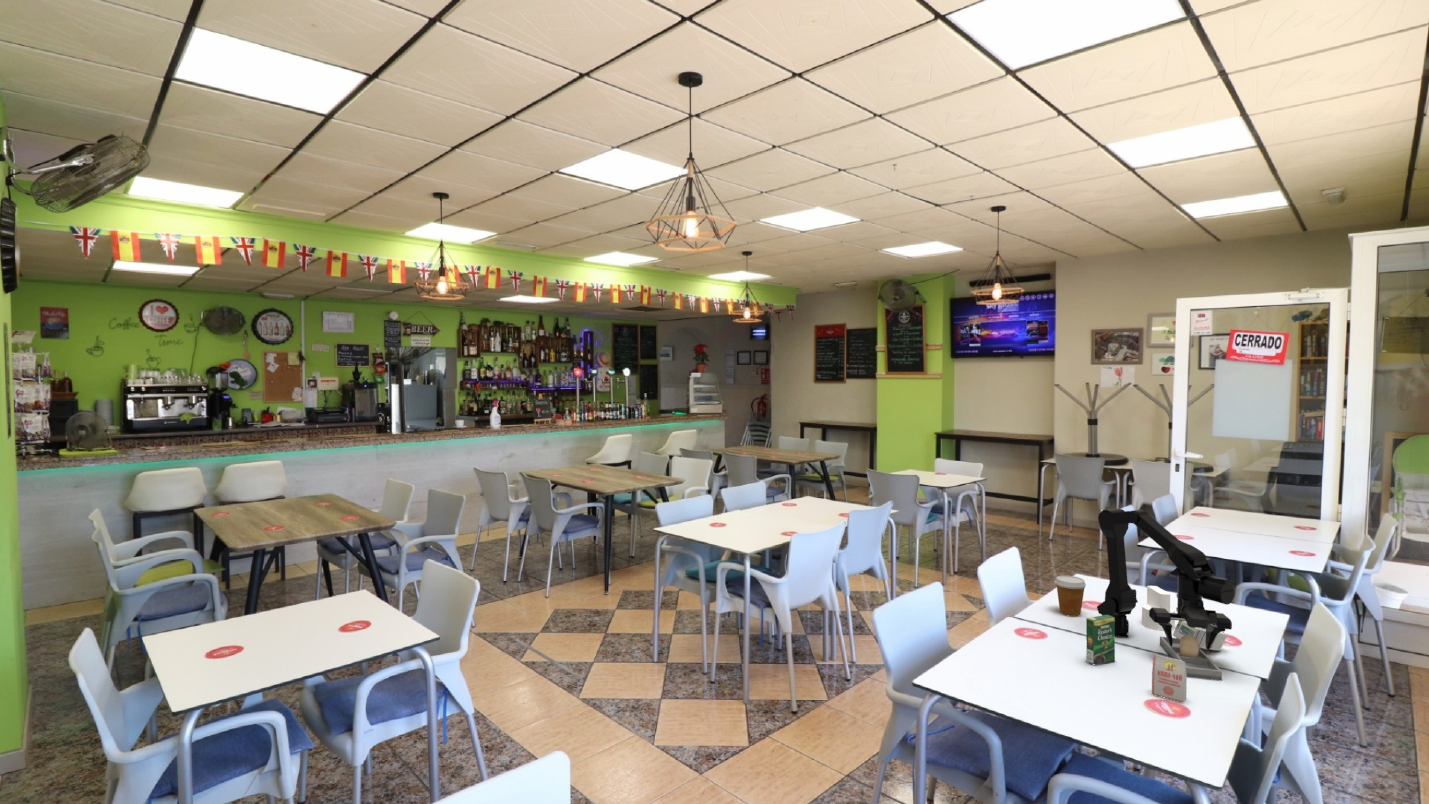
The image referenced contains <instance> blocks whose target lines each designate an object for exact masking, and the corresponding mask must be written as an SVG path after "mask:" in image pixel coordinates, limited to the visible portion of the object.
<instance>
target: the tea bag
mask: <svg viewBox="0 0 1429 804" xmlns="http://www.w3.org/2000/svg"><path fill="white" fill-rule="evenodd" d="M1151 670H1152V671H1151V695H1152V694H1153V695H1152V696H1155V695H1156V697H1159V696H1162V697H1165V698H1164V699H1166V698H1168V699H1167V700H1170V699H1172V700H1171V701H1173V700H1175V701H1174V702H1177V701H1178V703H1181V702H1184V703H1185V701H1186V700H1187V684H1188V683H1187V682H1188V681H1187V679H1188V677H1187V674H1186V664H1185V661H1181V660H1177V659H1172V658H1170V657H1169V656H1168V657H1167V656H1163V655H1159V654H1155V653H1154V654H1153V661H1152V669H1151ZM1162 697H1161V698H1162ZM1185 699H1186V700H1185Z"/></svg>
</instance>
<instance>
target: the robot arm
mask: <svg viewBox="0 0 1429 804" xmlns="http://www.w3.org/2000/svg"><path fill="white" fill-rule="evenodd" d="M1097 519H1098V524H1099V529H1100V531H1101V532H1102V534H1103V535H1104V536H1105V539H1106V542H1105V543H1106V552H1107V566H1108V579H1109V584H1108V586H1107V587H1106V589H1105V591H1104V601H1103V602H1101V603H1099V604H1098V605H1097V606H1096V609H1097V610H1096V611H1097V612H1098V614H1099V615H1101V616H1102V615H1110V616H1112V617H1114V618H1115V637H1121V638H1128V637H1129V628H1130V627H1129V625H1130V622H1129V619H1127V618H1128V617H1127V615H1131V613H1132V611H1133V610H1134V609H1135V608H1136V606H1137V603H1139V601H1138V598H1137V590H1136V589H1134V588H1133V589H1132V587H1131V586H1130V584H1129V583H1128V582H1129V581H1128V571H1127V560H1126V559H1127V558H1126V557H1127V556H1126V545H1125V536H1126V534H1127V532H1128V530H1129V524H1133V525H1135V526H1136V527H1137V528H1138V529H1140V531H1142V532H1143V533H1144V534H1145V535H1146V536H1148V537H1149V538H1150V539H1151V540H1152V541H1154V543H1156V544H1157V545H1158V546H1160V547H1161V549H1163V550H1164V551H1165V553H1166V554H1167V557H1168V559H1169V560H1170V561H1171V562H1172V564H1173V565H1174V566H1175V567H1176V568H1175V569H1173V570H1171V571H1170V572H1169V574H1170V575H1172V576H1176V577H1177V593H1176V599H1177V605H1176V606H1177V607H1176V610H1175V613H1169V612H1168V611H1167V610H1166V609H1164V608H1151V609H1150V610H1149V616H1150V618H1151V619H1152V620H1153V621H1154V622H1156V623H1158V624H1159V625H1161V626H1162V628H1163V630H1164V631H1163V632H1164V634H1165V637H1167V640H1168V642H1169V645H1170V646H1172V643H1173V641H1172V638H1173V633H1172V632H1173V631H1171V629H1172V625H1171V624H1170V622H1171V620H1175V621H1179V620H1180V621H1186V622H1187V625H1188V626H1189V627H1192V628H1195V627H1197V628H1203V629H1206V642H1205V643H1206V649H1205V650H1206V651H1210V650H1211V649H1210V647H1211V645H1212V643H1213V641H1214V639H1215V637H1216V636H1217V634H1218V633H1220V632H1222V631H1223V632H1224V633H1225V632H1226V630H1232V629H1233V622H1232V620H1231V618H1229V617H1228V616H1226V615H1225V614H1224V613H1220V612H1216V610H1210V609H1205V607H1204V600H1203V599H1205V600H1209V601H1213V602H1216V603H1219V604H1223V605H1230V604H1232V602H1233V601H1234V599H1235V595H1236V594H1235V592H1236V591H1235V589H1234V587H1233V585H1232V584H1231V583H1230V579H1229V578H1226V577H1218V576H1217V575H1216V572H1215V571H1214V569H1213V568H1212V566H1211V565H1210V563H1209V562H1208V560H1207V556H1206V554H1205V553H1204V552H1203V551H1202V550H1200V549H1198V548H1196V547H1195V546H1193V545H1192V544H1189V543H1187V542H1184V541H1182V540H1180V539H1179V538H1177V537H1176V536H1175V535H1173V533H1171V532H1170V531H1169V530H1167V529H1166V528H1165V527H1164V526H1163V525H1162V524H1160V523H1159V522H1158V521H1157V520H1155V519H1154V518H1153V517H1152V516H1150V514H1149V513H1148V512H1147V511H1146V510H1144V509H1134V510H1127V511H1126V510H1124V509H1122V508H1112V509H1110V508H1109V509H1103V510H1101V511H1100V512H1099V513H1098V515H1097Z"/></svg>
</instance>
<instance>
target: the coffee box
mask: <svg viewBox="0 0 1429 804" xmlns="http://www.w3.org/2000/svg"><path fill="white" fill-rule="evenodd" d="M1085 619H1086V621H1085V623H1086V624H1085V625H1086V628H1085V629H1086V631H1085V632H1086V638H1085V639H1086V662H1087V661H1088V662H1089V663H1088V662H1087V663H1088V664H1090V663H1091V664H1090V665H1092V664H1100V665H1103V664H1108V663H1109V664H1110V662H1111V663H1114V662H1116V657H1115V656H1116V652H1115V651H1116V649H1115V648H1116V647H1115V646H1116V645H1115V639H1116V638H1115V637H1116V636H1115V618H1114V617H1112V616H1110V615H1102V614H1101V615H1098V616H1093V617H1092V616H1091V617H1087V618H1085Z"/></svg>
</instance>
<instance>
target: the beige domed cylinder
mask: <svg viewBox="0 0 1429 804" xmlns="http://www.w3.org/2000/svg"><path fill="white" fill-rule="evenodd" d="M1180 656H1182V657H1191V658H1199V644H1198V641H1197V639H1196V638H1195V637H1193V636H1191V635H1184V636H1182V637H1181V639H1180Z"/></svg>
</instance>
